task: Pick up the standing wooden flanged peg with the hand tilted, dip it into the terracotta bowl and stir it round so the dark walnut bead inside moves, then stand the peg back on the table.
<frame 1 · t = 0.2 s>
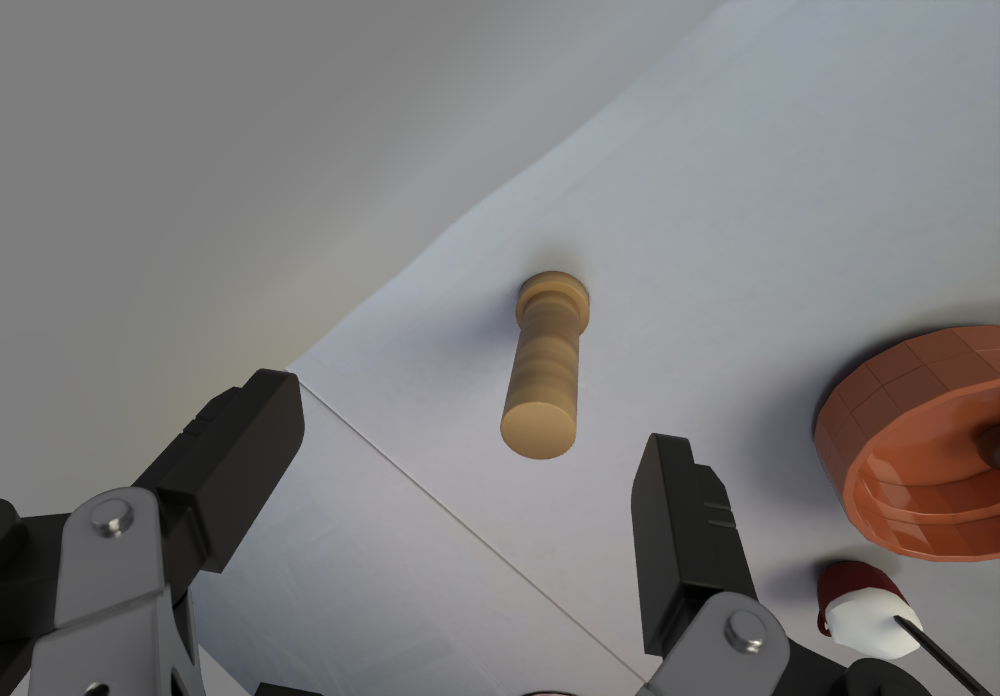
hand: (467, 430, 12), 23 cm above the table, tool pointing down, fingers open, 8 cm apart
bowl: (933, 415, 37), on the table
wooden flanged peg: (553, 303, 36), on the table
cocoa: (852, 569, 46), on the table
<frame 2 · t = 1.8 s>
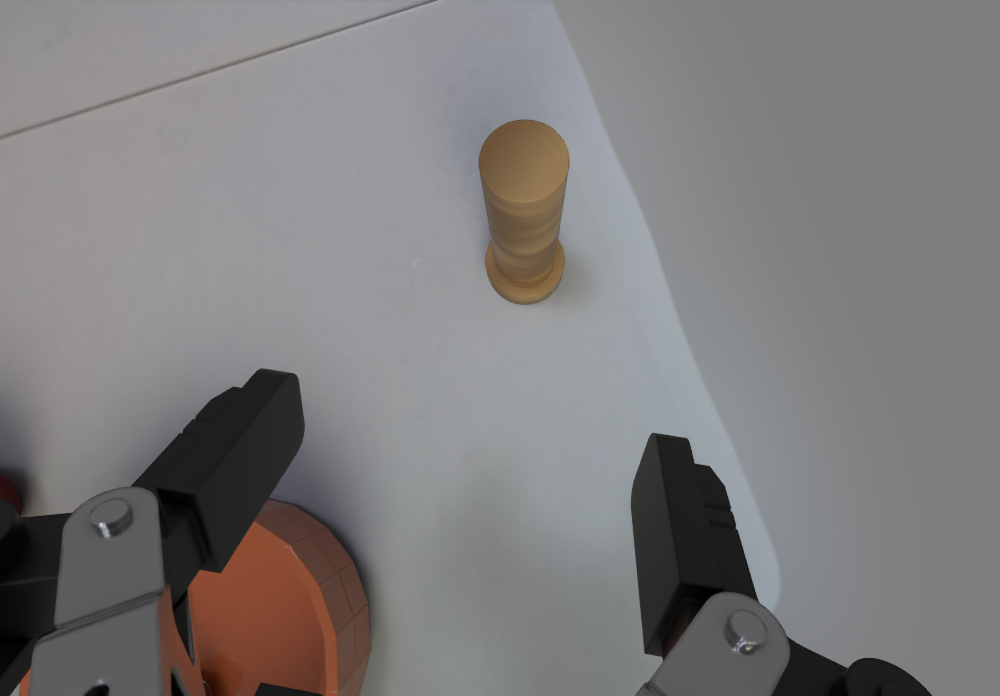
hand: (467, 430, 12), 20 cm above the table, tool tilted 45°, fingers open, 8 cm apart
bowl: (243, 632, 31), on the table
wooden flanged peg: (524, 267, 34), on the table
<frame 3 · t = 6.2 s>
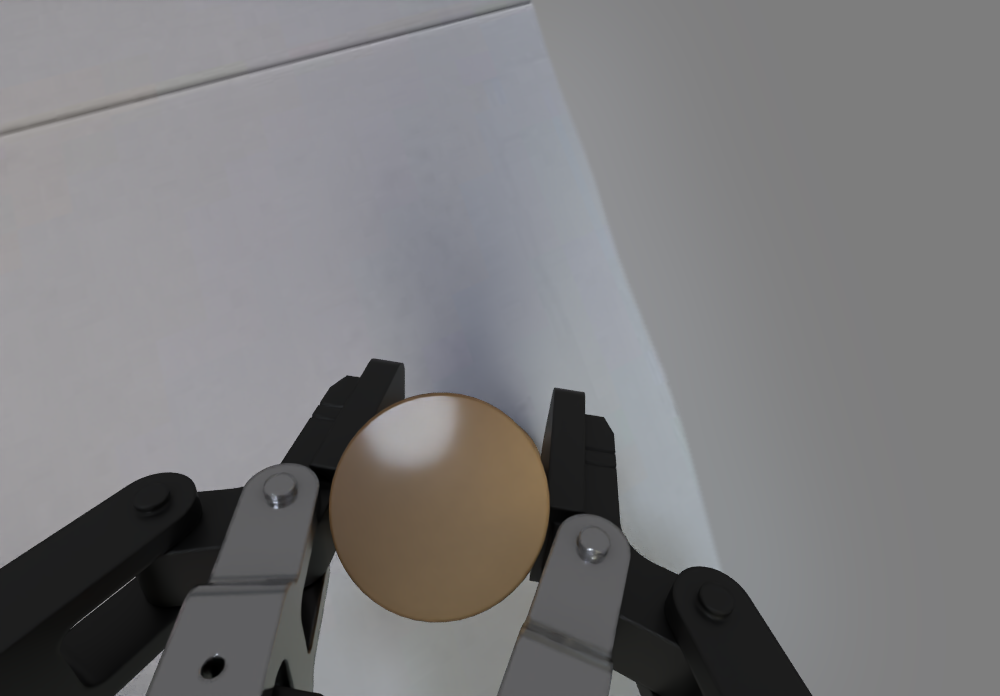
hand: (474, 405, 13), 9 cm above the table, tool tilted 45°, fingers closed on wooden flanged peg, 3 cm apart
wooden flanged peg: (481, 475, 21), on the table, touching gripper
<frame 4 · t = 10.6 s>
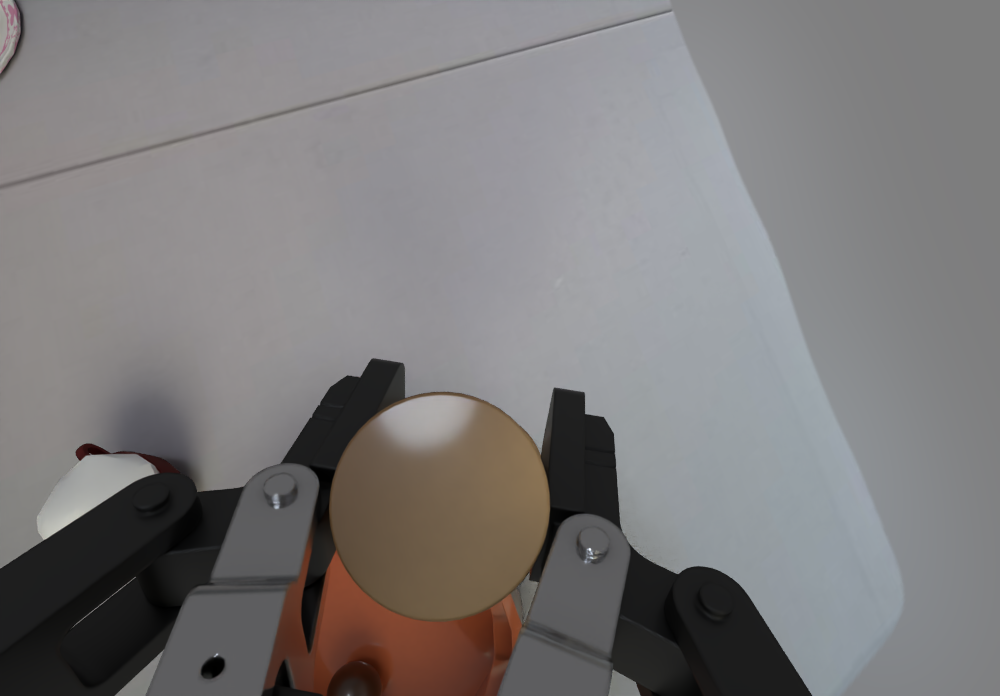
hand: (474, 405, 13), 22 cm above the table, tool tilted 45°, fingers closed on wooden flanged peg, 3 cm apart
bowl: (398, 623, 33), on the table
wooden flanged peg: (482, 475, 21), point 13 cm above the table, touching gripper
bead: (354, 692, 30), point 2 cm above the table, touching bowl
cocoa: (160, 507, 35), on the table
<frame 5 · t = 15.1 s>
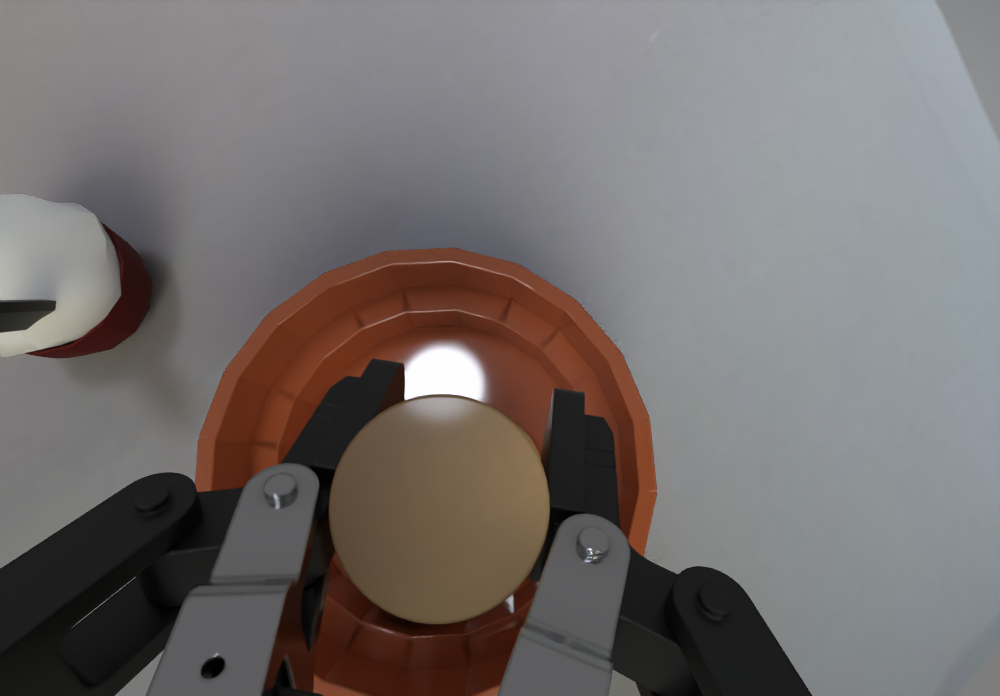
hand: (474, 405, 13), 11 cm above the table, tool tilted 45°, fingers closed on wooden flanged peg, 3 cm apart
bowl: (444, 463, 24), on the table
wooden flanged peg: (480, 474, 21), point 2 cm above the table, touching gripper
cocoa: (114, 314, 25), on the table
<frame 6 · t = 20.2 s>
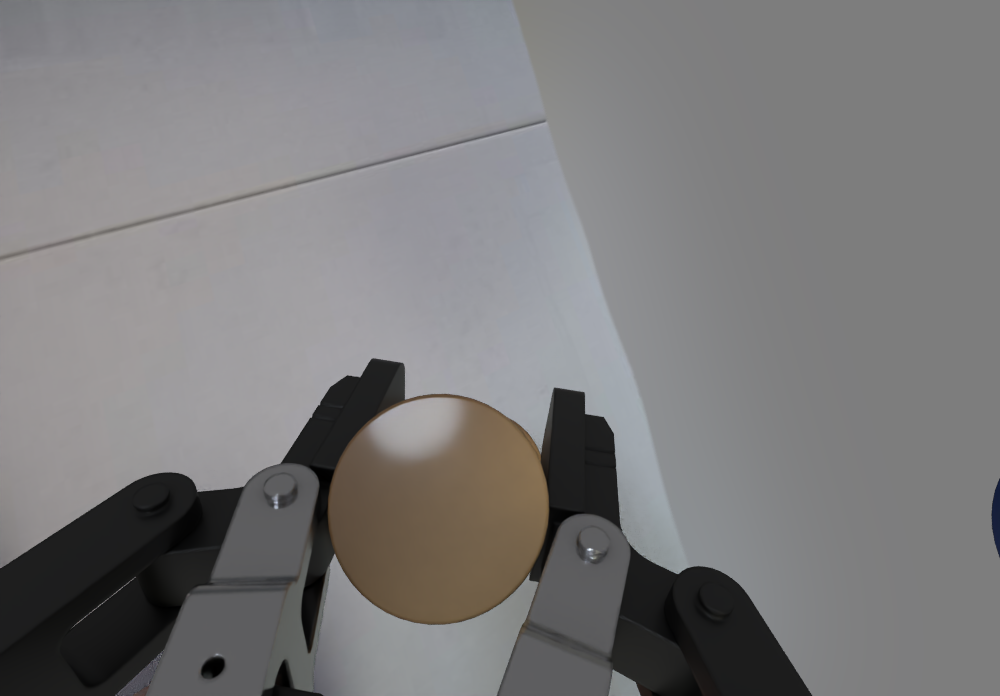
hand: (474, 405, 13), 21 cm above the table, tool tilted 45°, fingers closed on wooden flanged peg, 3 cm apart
wooden flanged peg: (481, 474, 21), point 12 cm above the table, touching gripper
when the fingers open (9 cm above the table, at t = 24.2 s): wooden flanged peg stays where it is, on the table.
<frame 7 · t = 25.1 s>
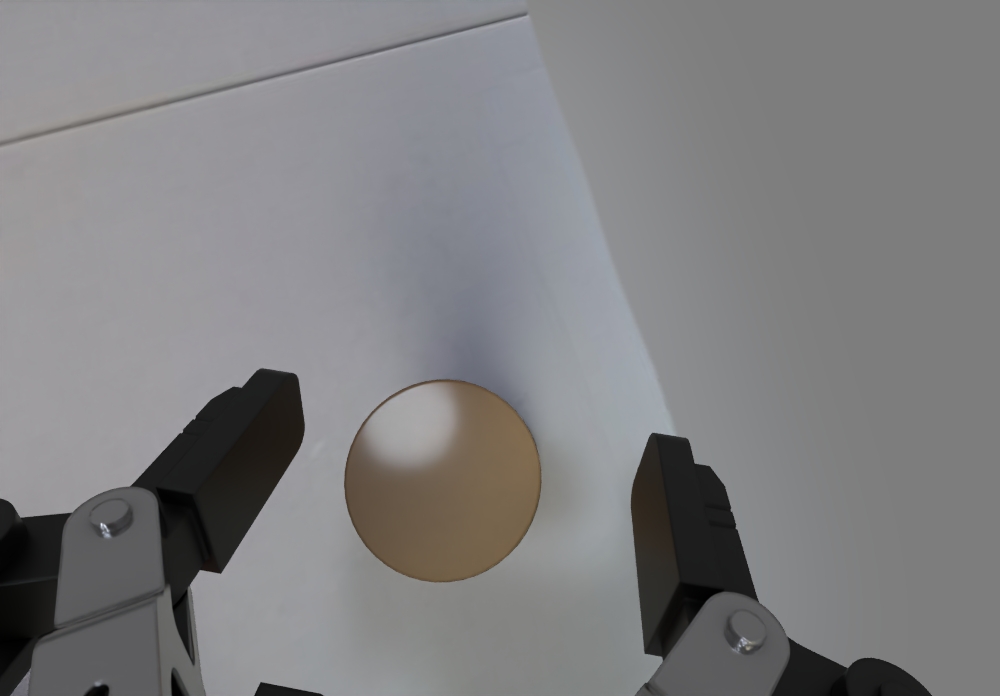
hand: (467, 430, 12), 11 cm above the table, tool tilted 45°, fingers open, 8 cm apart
wooden flanged peg: (480, 465, 22), on the table
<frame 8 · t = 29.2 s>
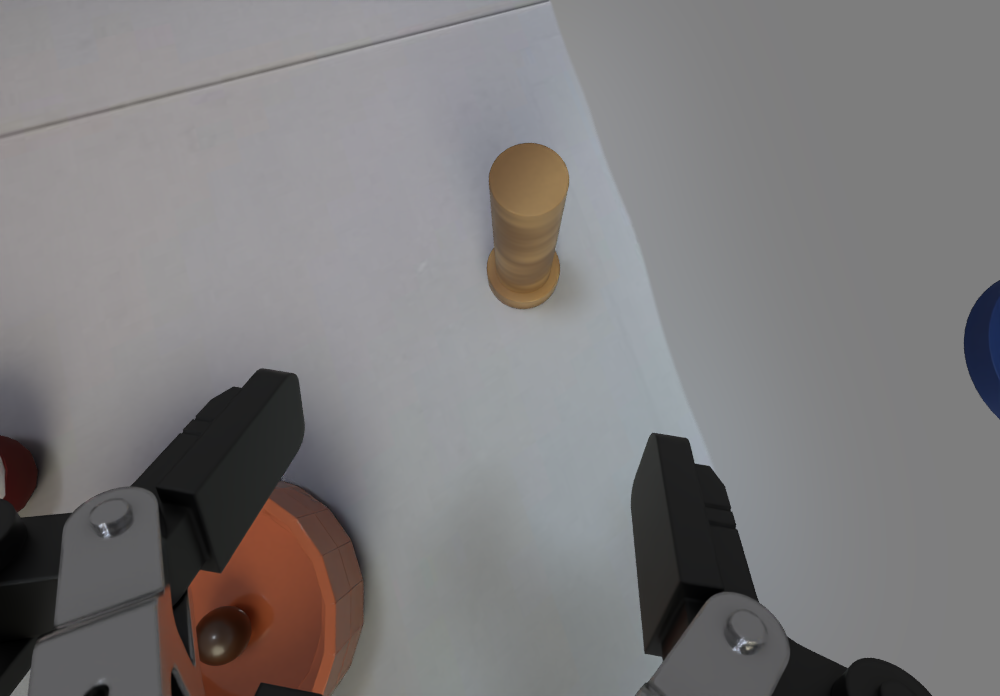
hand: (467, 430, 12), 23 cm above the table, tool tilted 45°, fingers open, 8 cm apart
bowl: (243, 603, 33), on the table
wooden flanged peg: (522, 275, 37), on the table
bead: (222, 635, 30), point 2 cm above the table, tilted 79°, touching bowl
cocoa: (13, 488, 35), on the table
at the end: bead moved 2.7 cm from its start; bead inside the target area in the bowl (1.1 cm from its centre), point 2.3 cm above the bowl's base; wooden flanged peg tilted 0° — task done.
